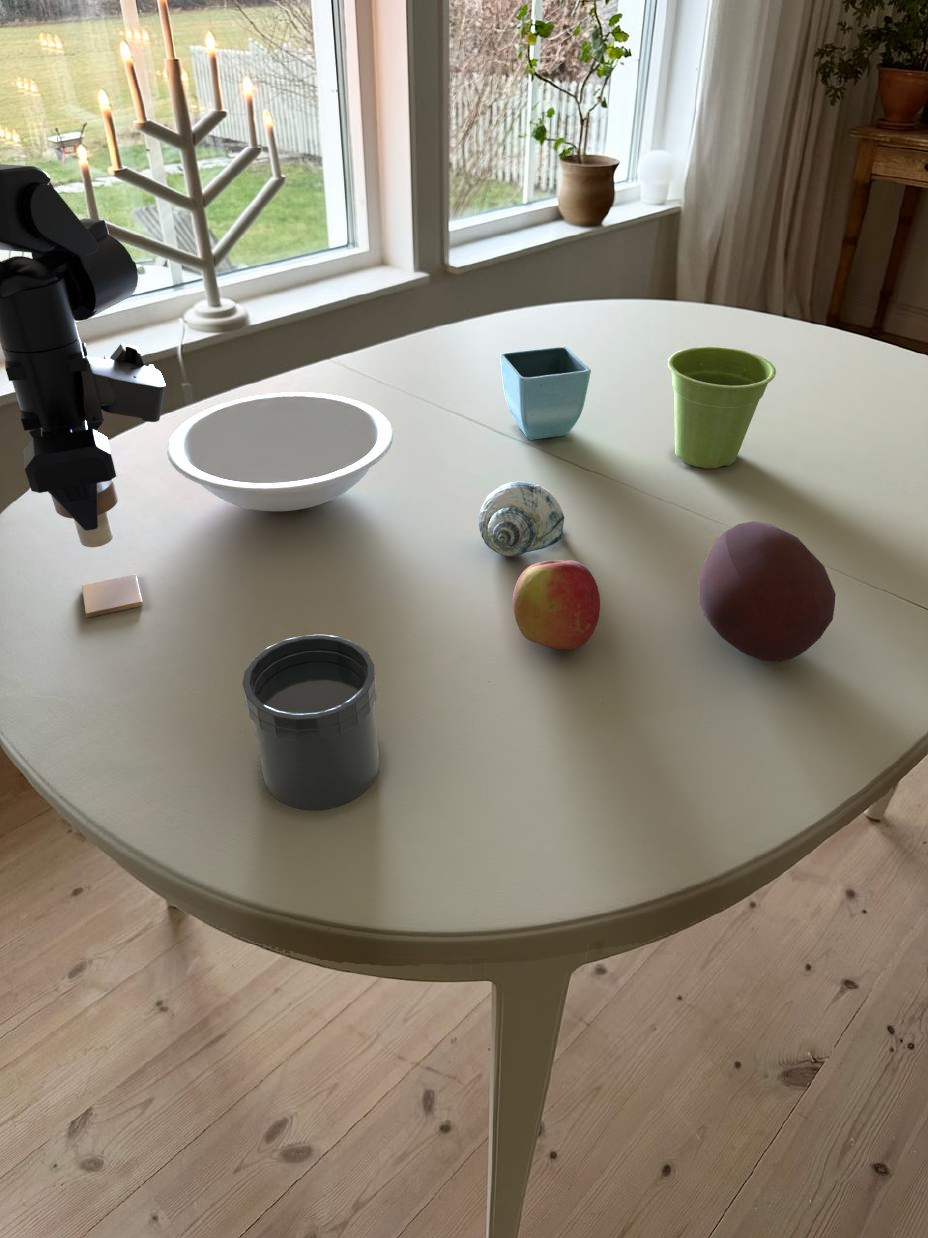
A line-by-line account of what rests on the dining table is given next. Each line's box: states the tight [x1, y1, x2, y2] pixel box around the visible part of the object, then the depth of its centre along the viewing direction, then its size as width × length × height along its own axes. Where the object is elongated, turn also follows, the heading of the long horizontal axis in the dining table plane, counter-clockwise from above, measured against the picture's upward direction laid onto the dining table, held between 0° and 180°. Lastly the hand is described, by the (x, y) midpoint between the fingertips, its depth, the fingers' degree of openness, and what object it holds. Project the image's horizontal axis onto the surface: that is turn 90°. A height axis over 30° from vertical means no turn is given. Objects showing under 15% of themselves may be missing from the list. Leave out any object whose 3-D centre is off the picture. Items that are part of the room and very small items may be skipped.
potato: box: [698, 520, 837, 663], centre depth 78 cm, size 11×13×10 cm
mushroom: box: [50, 478, 119, 548], centre depth 81 cm, size 5×5×6 cm
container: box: [242, 634, 380, 811], centre depth 66 cm, size 9×9×9 cm
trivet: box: [81, 573, 144, 619], centre depth 87 cm, size 5×5×1 cm
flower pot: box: [499, 346, 592, 440], centre depth 113 cm, size 9×9×9 cm
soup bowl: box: [166, 392, 394, 512], centre depth 101 cm, size 24×24×7 cm
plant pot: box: [667, 346, 777, 469], centre depth 106 cm, size 12×12×11 cm
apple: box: [512, 559, 601, 650], centre depth 79 cm, size 8×8×8 cm
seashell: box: [478, 480, 565, 557], centre depth 92 cm, size 6×8×12 cm
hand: (88, 514), depth 81 cm, fingers closed on mushroom, 5 cm apart
